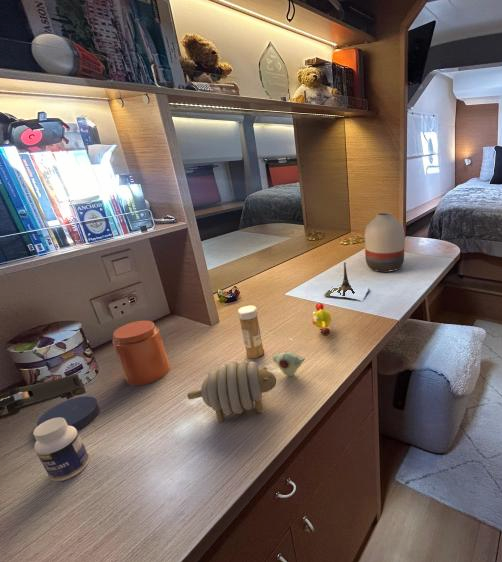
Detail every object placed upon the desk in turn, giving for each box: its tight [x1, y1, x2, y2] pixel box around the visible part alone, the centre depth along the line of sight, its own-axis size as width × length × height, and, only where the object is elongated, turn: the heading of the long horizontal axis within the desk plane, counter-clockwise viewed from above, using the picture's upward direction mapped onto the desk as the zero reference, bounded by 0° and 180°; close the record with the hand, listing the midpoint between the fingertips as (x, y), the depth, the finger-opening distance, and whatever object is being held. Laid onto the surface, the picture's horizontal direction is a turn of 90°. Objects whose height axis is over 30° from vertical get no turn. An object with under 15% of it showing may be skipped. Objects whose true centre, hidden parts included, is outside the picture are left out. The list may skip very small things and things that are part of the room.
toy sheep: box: [187, 360, 277, 423], centre depth 69 cm, size 11×17×11 cm, turn 112°
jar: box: [111, 320, 171, 386], centre depth 81 cm, size 9×9×13 cm
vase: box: [364, 212, 406, 272], centre depth 145 cm, size 17×17×24 cm
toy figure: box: [311, 302, 332, 337], centre depth 99 cm, size 18×6×7 cm, turn 14°
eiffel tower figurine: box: [323, 259, 355, 297], centre depth 122 cm, size 15×10×13 cm
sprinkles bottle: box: [237, 305, 265, 359], centre depth 88 cm, size 5×4×13 cm
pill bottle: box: [32, 417, 90, 482], centre depth 57 cm, size 5×5×10 cm
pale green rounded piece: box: [272, 351, 306, 376], centre depth 80 cm, size 8×4×7 cm, turn 78°
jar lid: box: [36, 395, 101, 431], centre depth 70 cm, size 10×10×2 cm
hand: (36, 405), depth 60 cm, fingers open, 13 cm apart
